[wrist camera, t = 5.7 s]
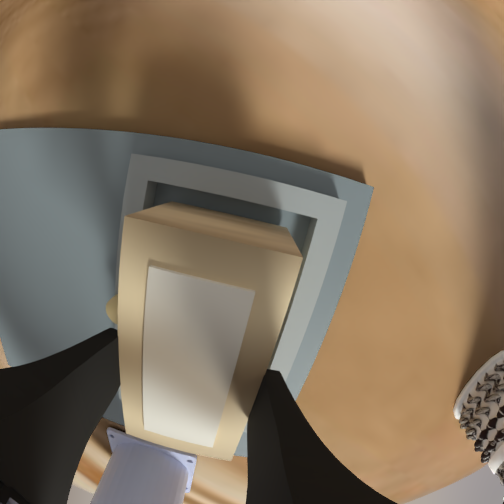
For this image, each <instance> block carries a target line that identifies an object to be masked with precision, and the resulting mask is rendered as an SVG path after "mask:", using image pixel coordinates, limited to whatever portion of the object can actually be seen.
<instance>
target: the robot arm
mask: <svg viewBox="0 0 504 504" xmlns="http://www.w3.org/2000/svg"><path fill="white" fill-rule="evenodd" d="M120 385H121V382H120V367H119V343H118V330H116V329H114V328H109V329H106V330H104V331H102V332H100V333H98V334H96V335H94V336H92V337H90V338H88V339H86V340H84V341H82V342H80V343H78V344H76V345H74V346H72V347H70V348H67V349H65V350H63V351H60V352H58V353H55V354H53V355H51V356H48V357H46V358H43V359H40V360H37V361H34V362H31V363H27V364H24V365H20V366H15V367H10V368H4V369H0V504H67V500H68V495H69V492H70V488H71V485H72V482H73V478H74V475H75V472H76V470H77V467H78V464H79V461H80V459H81V456H82V454H83V451H84V449H85V447H86V444H87V442H88V440H89V438H90V436H91V434H92V432H93V431H94V429H95V427H96V426H97V424H98V423H99V421H100V419H101V418H102V416H103V414H104V413H105V411H106V410H107V408H108V406H109V405H110V403H111V402H112V400H113V398H114V397H115V395H116V393H117V391H118V389H119V387H120ZM107 435H108V439H109V443H110V446H111V450H112V455H111V458H110V460H109V462H108V464H107V466H106V469H105V471H104V473H103V475H102V478H101V480H100V482H99V484H98V487H97V489H96V491H95V494H94V496H93V498H92V501H91V503H90V504H183V500H184V495H185V493H189V492H190V488H191V483H192V479H193V474H194V469H195V465H196V460H197V456H196V455H195V454H192V453H188V452H184V451H180V450H176V449H173V448H169V447H165V446H162V445H159V444H155V443H152V442H149V441H146V440H143V439H140V438H137V437H134V436H132V435H129V434H126V433H124V432H122V431H119V430H117V429H114V428H111V427H108V428H107ZM247 459H248V488H247V498H246V504H397V503H395V502H393V501H392V500H390V499H388V498H386V497H384V496H383V495H381V494H379V493H378V492H376V491H375V490H374V489H372V488H371V487H369V486H368V485H366V484H365V483H364V482H362V481H361V480H360V479H359V478H357V477H356V476H355V475H354V474H353V473H352V472H351V471H350V470H348V469H347V468H346V467H345V466H344V465H343V464H342V463H341V462H340V461H339V460H338V459H337V458H336V457H335V456H334V455H333V454H332V453H331V452H330V451H329V449H328V448H327V447H326V446H325V445H324V443H323V442H322V441H321V440H320V438H319V437H318V436H317V434H316V433H315V432H314V430H313V429H312V427H311V426H310V424H309V423H308V421H307V420H306V418H305V417H304V415H303V413H302V412H301V410H300V408H299V407H298V405H297V403H296V402H295V400H294V398H293V396H292V394H291V392H290V390H289V388H288V386H287V384H286V382H285V380H284V378H283V376H282V374H281V373H280V371H277V370H271V369H267V370H266V373H265V375H264V377H263V379H262V382H261V385H260V388H259V390H258V393H257V396H256V398H255V401H254V404H253V406H252V409H251V412H250V414H249V417H248V422H247Z"/></svg>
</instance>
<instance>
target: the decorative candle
mask: <svg viewBox="0 0 504 504" xmlns="http://www.w3.org/2000/svg"><path fill="white" fill-rule="evenodd" d="M453 412H454V416H455V418H456V419H459V423H461V425H460V428H461V429H464V428H465V429H466V434H467V436H466V438H467V439H472V440H476V442H475V444H474V446H475V451H476V452H478V451H481V452H482V451H483V453H482V455H481V462H482V463H485V462H488V465H489V467H490V469H491V471H492V472H493V474H497V475H498V476H499V478H500V483H501V484H502V485H503V486H504V350H502V351H500V352H499V353H497V354H496V355H494V356H493V357H491V358H490V359H489V360H488V361H487V362H486V363H485V364H484V365H483V366H482V367H481V368H480V369H478V370H477V372H476V373H475V374H474V375H473V377H472V378H471V379H470V380H469V381H468V383H467V384H466V385H465V387H464V388H463V390H462V391H461V393H460V395H459V396H458V398H457V399H456V402H455V405H454V408H453ZM503 500H504V497H503ZM503 504H504V502H503Z"/></svg>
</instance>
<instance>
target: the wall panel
mask: <svg viewBox="0 0 504 504" xmlns="http://www.w3.org/2000/svg"><path fill="white" fill-rule="evenodd" d="M373 189H374V187H372V186H369V185H366V184H363V183H360V182H357V181H354V180H351V179H348V178H345V177H342V176H339V175H335V174H332V173H329V172H326V171H322V170H319V169H315V168H312V167H309V166H305V165H301V164H298V163H294V162H290V161H286V160H282V159H279V158H275V157H270V156H266V155H262V154H258V153H253V152H249V151H244V150H240V149H235V148H230V147H225V146H220V145H215V144H210V143H204V142H198V141H192V140H186V139H180V138H173V137H166V136H159V135H151V134H142V133H133V132H123V131H112V130H98V129H79V128H15V129H0V338H1V342H2V345H3V349H4V352H5V355H6V358H7V361H8V364H9V365H10V366H11V367H15V366H20V365H24V364H27V363H31V362H34V361H37V360H40V359H43V358H46V357H48V356H51V355H53V354H55V353H58V352H60V351H63V350H65V349H67V348H70V347H72V346H74V345H76V344H78V343H80V342H82V341H84V340H86V339H88V338H90V337H92V336H94V335H96V334H98V333H100V332H102V331H104V330H106V329H109V328H114V329H116V330H118V284H119V267H120V254H121V243H122V233H123V224H124V216H126V215H129V214H132V213H135V212H139V211H142V210H145V209H148V208H151V207H155V206H158V205H161V204H165V203H168V202H172V201H173V202H178V203H182V204H187V205H192V206H196V207H201V208H205V209H210V210H214V211H219V212H223V213H228V214H232V215H236V216H241V217H245V218H249V219H253V220H258V221H262V222H266V223H270V224H274V225H278V226H282V227H286V228H287V229H288V231H289V233H290V234H291V236H292V238H293V240H294V242H295V243H296V245H297V247H298V249H299V251H300V253H301V254H302V256H303V260H302V263H301V267H300V270H299V273H298V277H297V280H296V283H295V286H294V290H293V293H292V296H291V299H290V302H289V305H288V309H287V312H286V315H285V318H284V321H283V324H282V327H281V330H280V333H279V336H278V339H277V342H276V345H275V348H274V351H273V353H272V356H271V359H270V362H269V365H268V368H267V369H271V370H277V371H280V373H281V374H282V376H283V378H284V380H285V382H286V384H287V386H288V388H289V390H290V392H291V394H292V396H293V398H294V400H295V401H296V399H297V397H298V395H299V393H300V391H301V389H302V386H303V384H304V382H305V380H306V378H307V376H308V374H309V371H310V369H311V367H312V365H313V363H314V360H315V358H316V356H317V353H318V351H319V349H320V347H321V344H322V342H323V339H324V337H325V335H326V332H327V330H328V327H329V325H330V322H331V320H332V317H333V315H334V312H335V309H336V307H337V304H338V301H339V299H340V296H341V293H342V290H343V288H344V285H345V282H346V279H347V276H348V273H349V270H350V267H351V264H352V261H353V258H354V255H355V252H356V249H357V246H358V242H359V239H360V236H361V233H362V229H363V226H364V222H365V219H366V215H367V212H368V208H369V204H370V200H371V196H372V193H373ZM102 417H103V418H105V419H108V420H110V421H113V422H115V423H118V424H120V425H123V426H125V423H124V415H123V407H122V398H121V387H119V389H118V391H117V393H116V395H115V397H114V398H113V400H112V402H111V403H110V405H109V406H108V408H107V410H106V411H105V413H104V414H103V416H102ZM247 422H248V421H247ZM234 455H236V456H243V457H247V423H246V426H245V429H244V431H243V434H242V436H241V438H240V441H239V443H238V446H237V448H236V451H235V453H234Z"/></svg>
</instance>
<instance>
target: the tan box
mask: <svg viewBox="0 0 504 504" xmlns="http://www.w3.org/2000/svg"><path fill="white" fill-rule="evenodd" d="M302 260H303V256H302V254H301V253H300V251H299V249H298V247H297V245H296V243H295V242H294V240H293V238H292V236H291V234H290V233H289V231H288V229H287V228H286V227H282V226H278V225H274V224H270V223H266V222H262V221H258V220H253V219H249V218H245V217H241V216H236V215H232V214H228V213H223V212H219V211H214V210H210V209H205V208H201V207H196V206H192V205H187V204H182V203H178V202H173V201H172V202H168V203H165V204H161V205H158V206H155V207H151V208H148V209H145V210H142V211H139V212H135V213H132V214H129V215H126V216H124V224H123V233H122V243H121V254H120V267H119V284H118V343H119V367H120V382H121V385H120V387H121V398H122V407H123V415H124V423H125V429H126V434H129V435H132V436H134V437H137V438H140V439H143V440H146V441H149V442H152V443H155V444H159V445H162V446H165V447H169V448H173V449H176V450H180V451H184V452H188V453H192V454H196V455H201V456H206V457H211V458H216V459H221V460H227V461H231V460H232V458H233V455H234V453H235V451H236V448H237V446H238V443H239V441H240V438H241V436H242V434H243V431H244V429H245V426H246V423H247V421H248V417H249V414H250V412H251V409H252V406H253V404H254V401H255V398H256V396H257V393H258V390H259V388H260V385H261V382H262V379H263V377H264V375H265V373H266V370H267V368H268V365H269V362H270V359H271V356H272V353H273V351H274V348H275V345H276V342H277V339H278V336H279V333H280V330H281V327H282V324H283V321H284V318H285V315H286V312H287V309H288V305H289V302H290V299H291V296H292V293H293V290H294V286H295V283H296V280H297V277H298V273H299V270H300V267H301V263H302Z"/></svg>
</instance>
